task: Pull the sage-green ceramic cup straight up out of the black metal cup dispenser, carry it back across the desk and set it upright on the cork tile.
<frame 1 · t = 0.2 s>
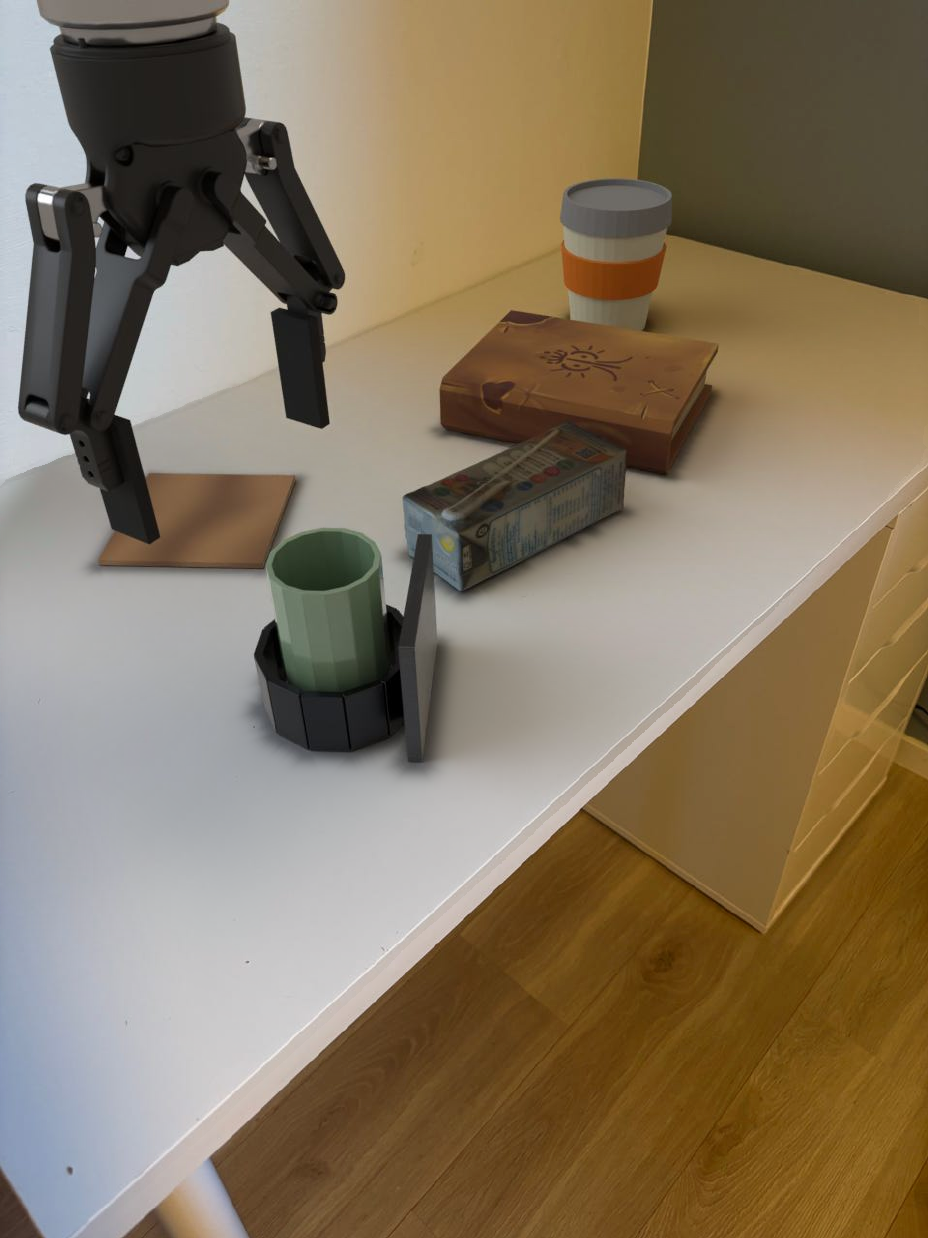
hand: (229, 473, 54), 21 cm above the table, tool pointing down, fingers open, 13 cm apart
reusable coffee cup: (607, 324, 120), on the table
diary: (579, 414, 103), on the table
dispenser: (342, 696, 71), on the table
cork tile: (203, 520, 88), on the table
beverage carton: (517, 534, 86), on the table
cup: (342, 696, 71), resting in dispenser
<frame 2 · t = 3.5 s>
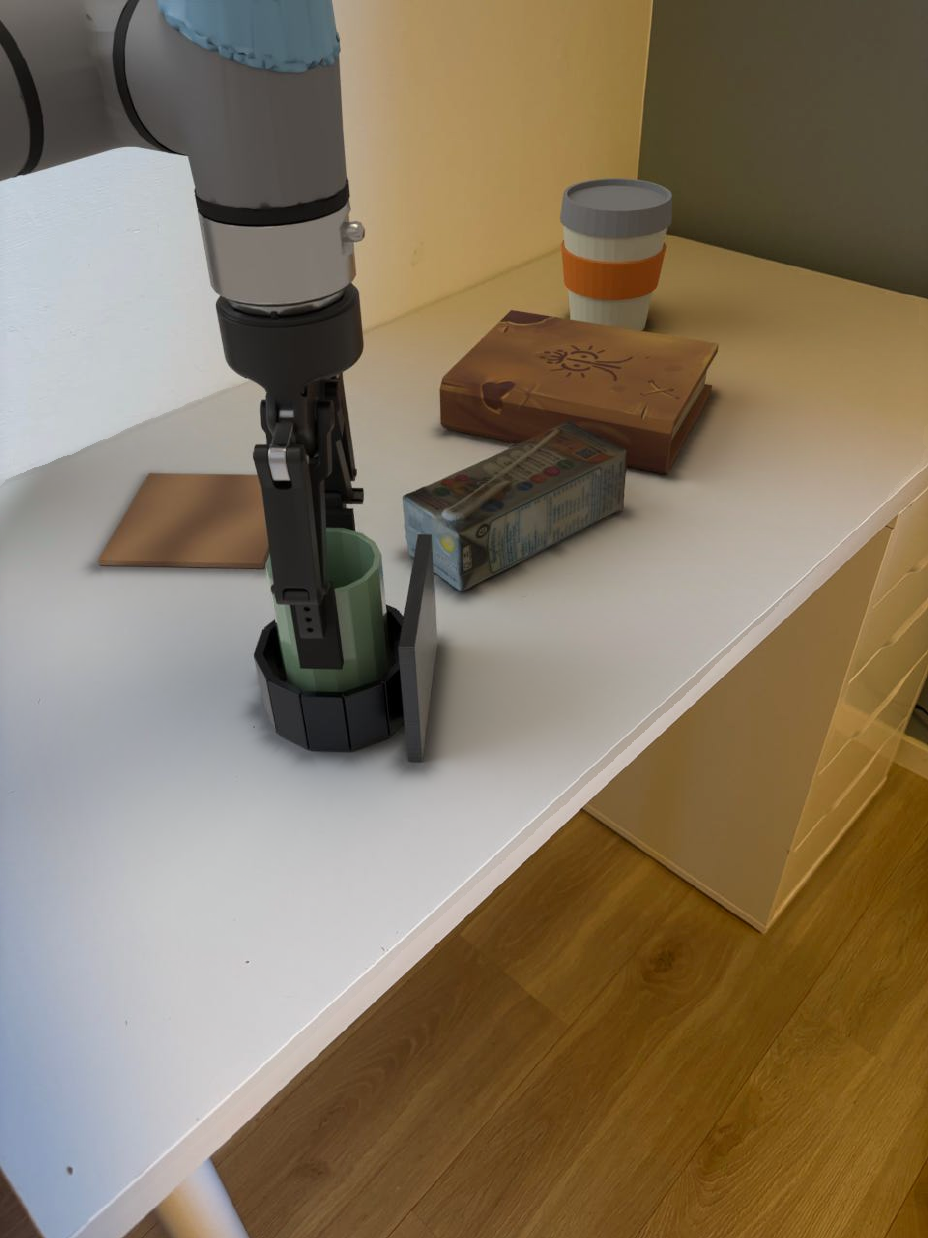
hand: (332, 625, 66), 7 cm above the table, tool pointing down, fingers closed on cup, 7 cm apart
cup: (342, 696, 71), resting in dispenser, touching gripper
everything else where it was.
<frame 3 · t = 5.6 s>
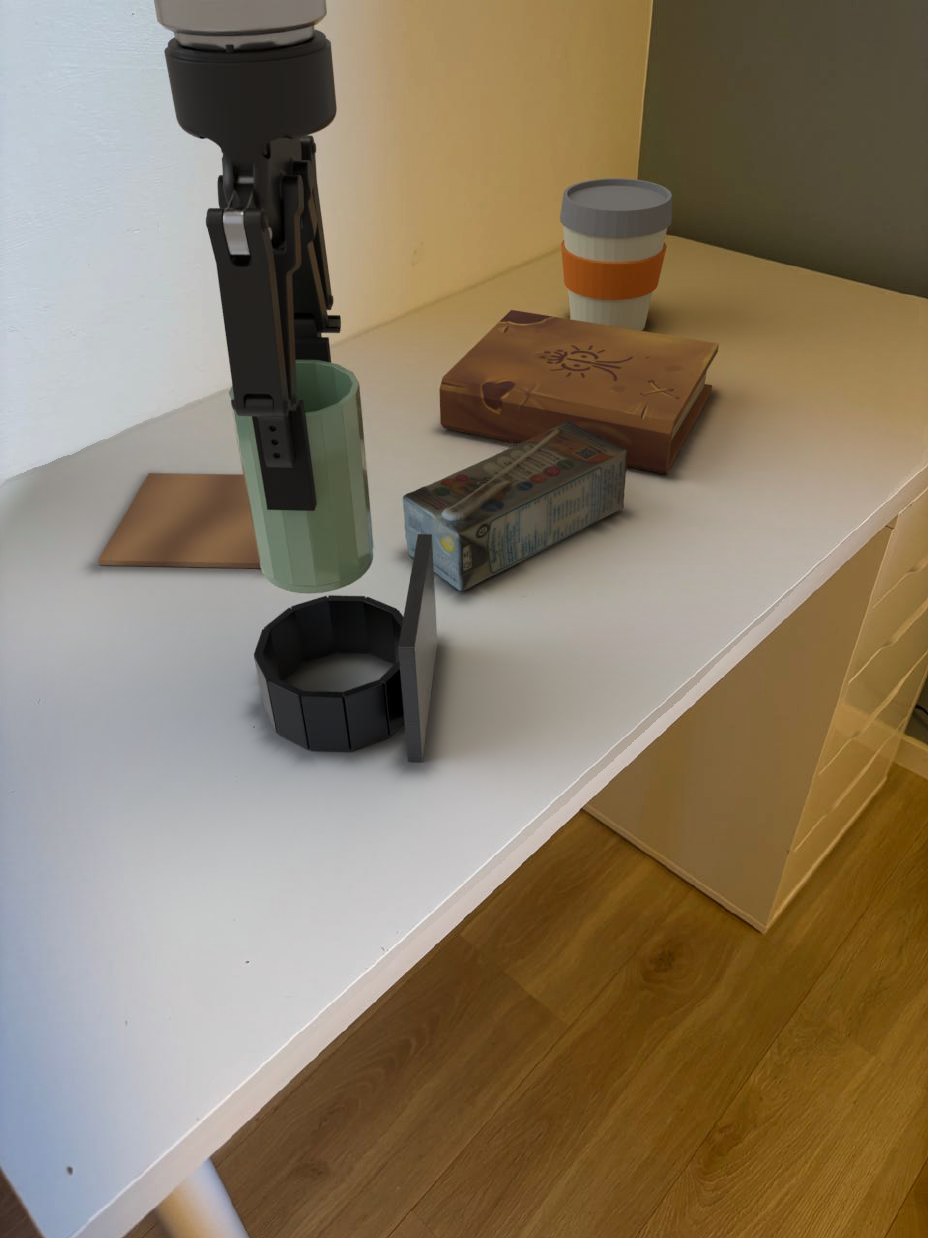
hand: (305, 469, 59), 18 cm above the table, tool pointing down, fingers closed on cup, 7 cm apart
cup: (317, 559, 64), point 12 cm above the table, touching gripper
everything else where it was.
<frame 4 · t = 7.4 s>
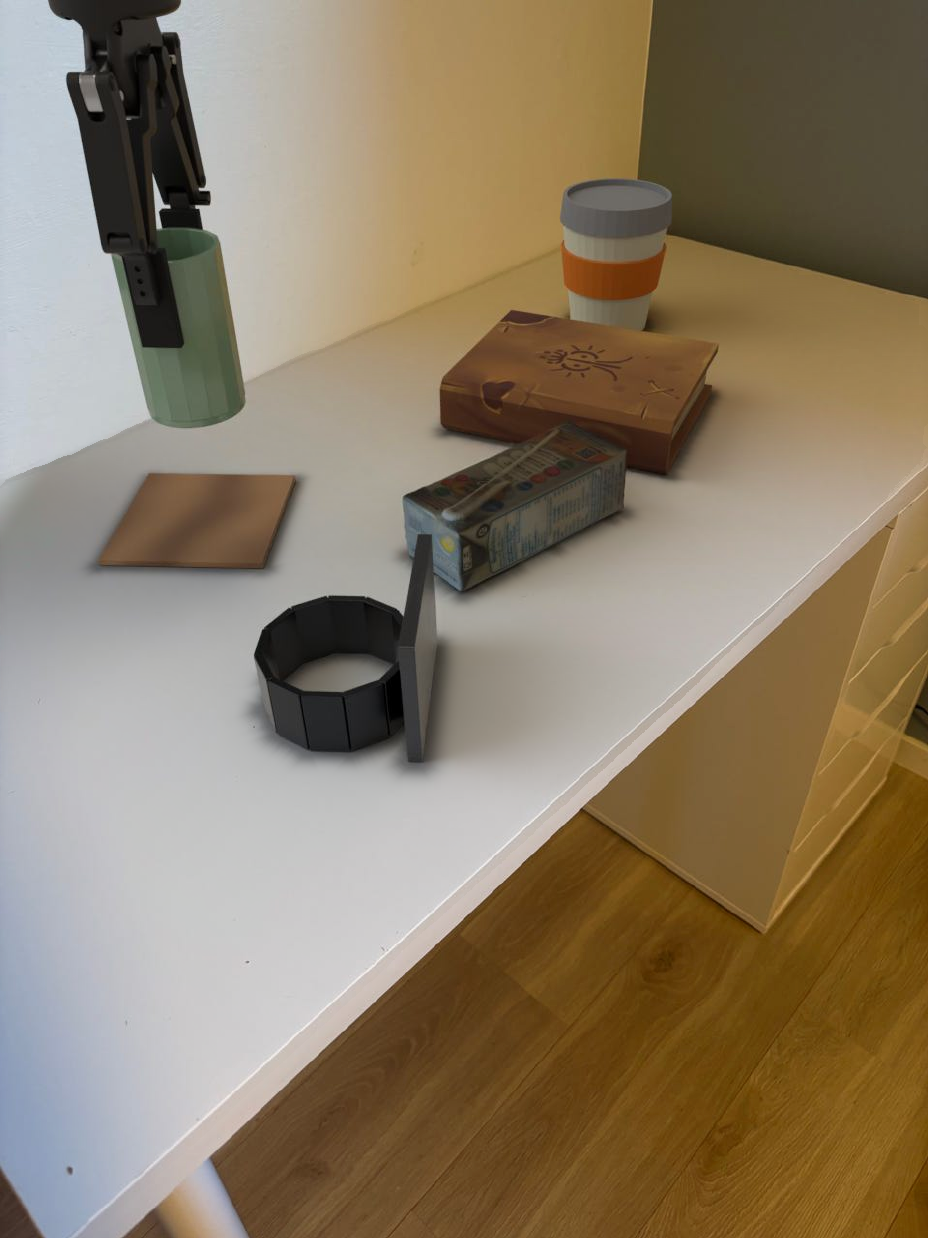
hand: (180, 321, 71), 21 cm above the table, tool pointing down, fingers closed on cup, 7 cm apart
cup: (197, 405, 75), point 14 cm above the table, touching gripper
everything else where it was.
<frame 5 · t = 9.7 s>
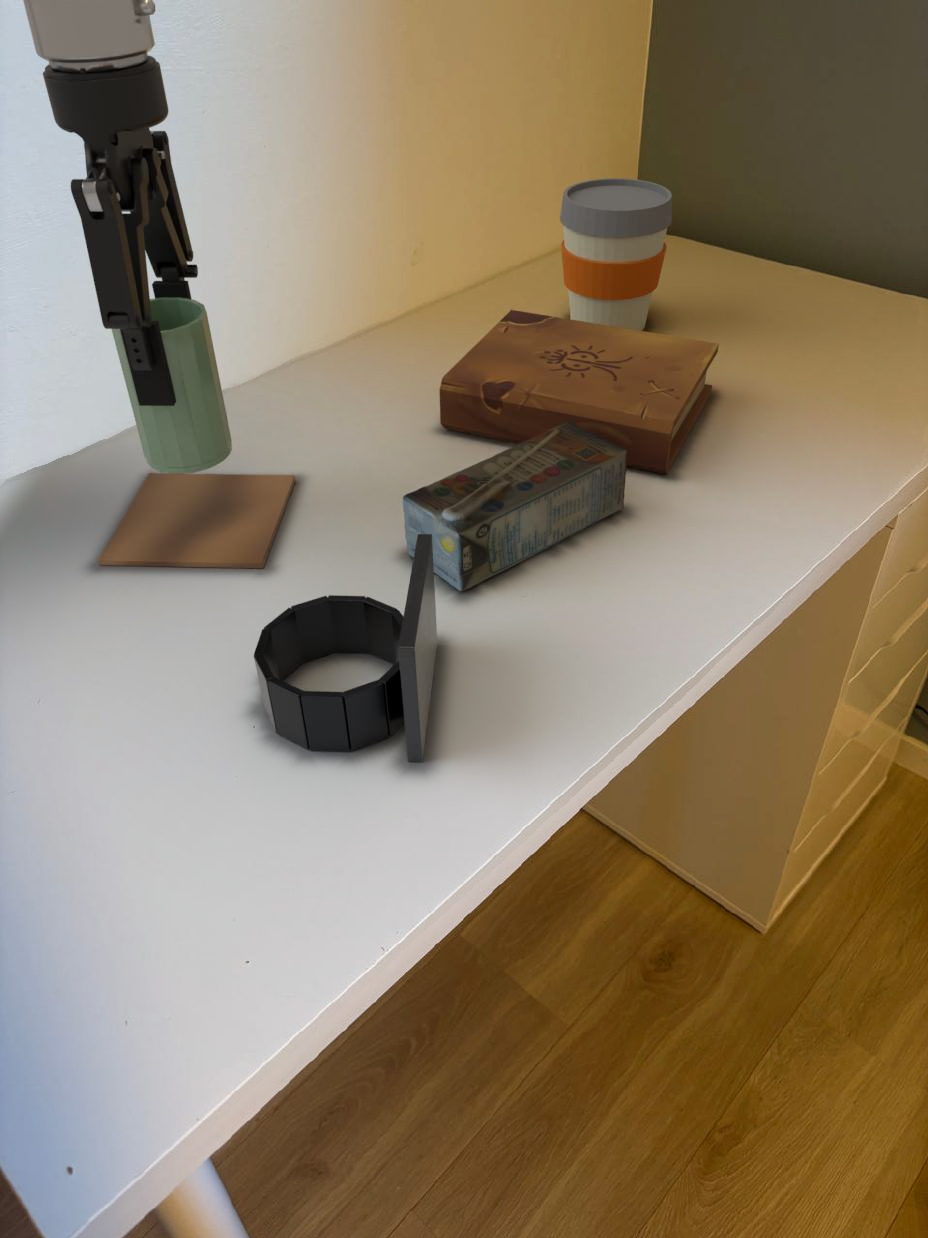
hand: (172, 380, 80), 14 cm above the table, tool pointing down, fingers closed on cup, 7 cm apart
cup: (189, 452, 84), point 7 cm above the table, touching gripper
everything else where it was.
when the fingers open (7 cm above the table, at t = 11.6 s): cup stays where it is, resting on cork tile.
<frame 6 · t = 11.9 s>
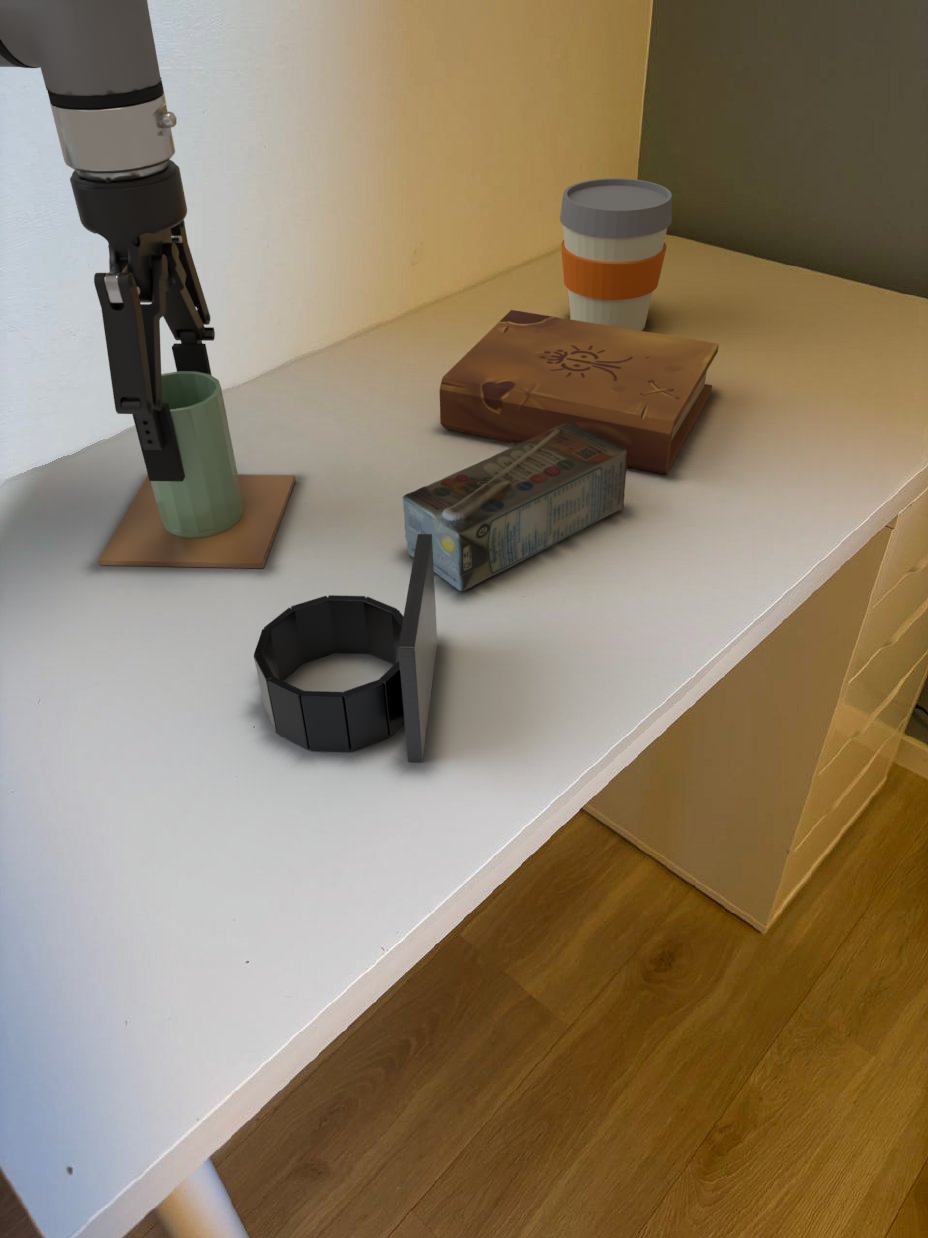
hand: (186, 445, 84), 8 cm above the table, tool pointing down, fingers open, 10 cm apart
cup: (202, 514, 88), point 1 cm above the table, touching cork tile
everything else where it was.
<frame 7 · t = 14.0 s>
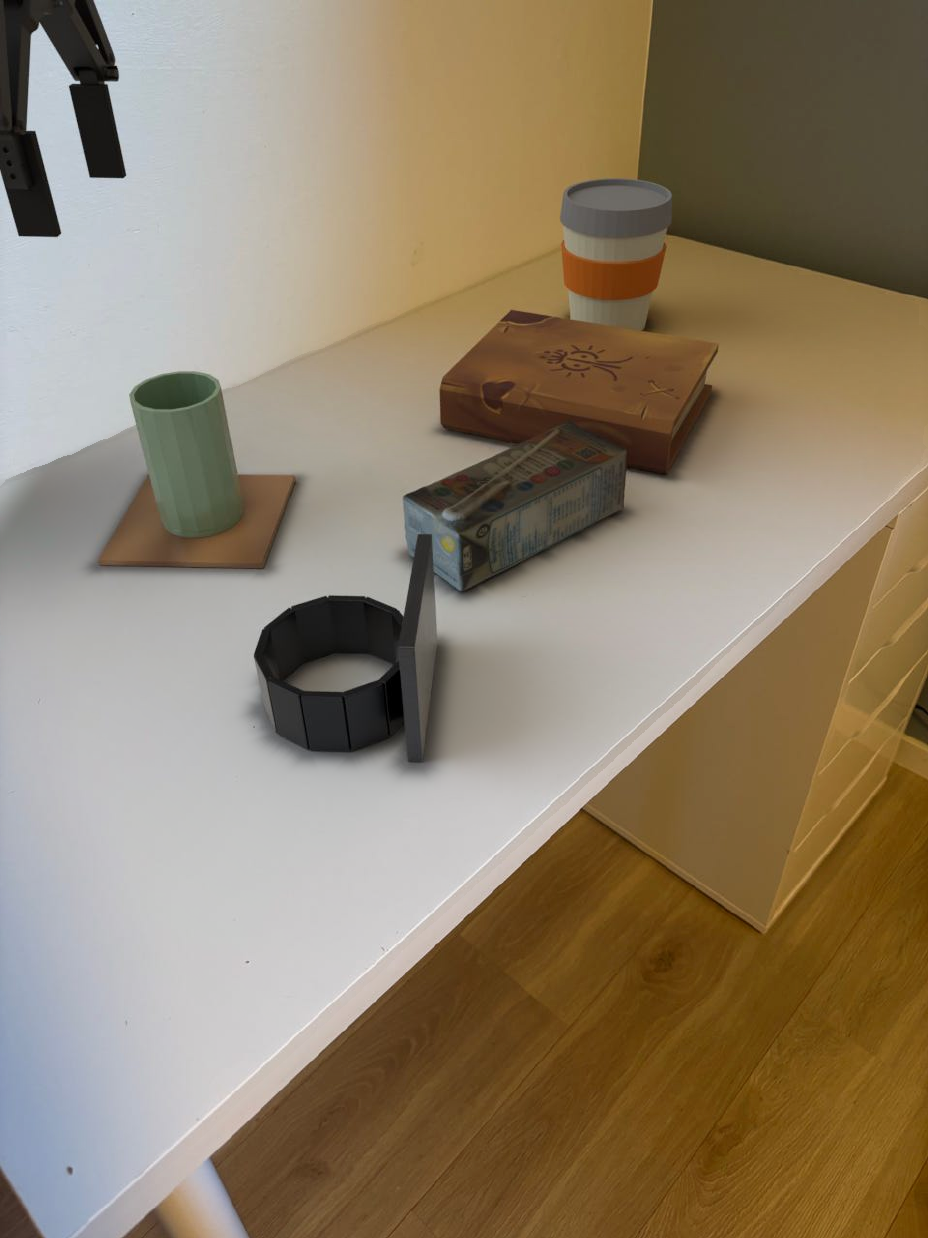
hand: (76, 204, 73), 27 cm above the table, tool pointing down, fingers open, 13 cm apart
nothing on the table moved.
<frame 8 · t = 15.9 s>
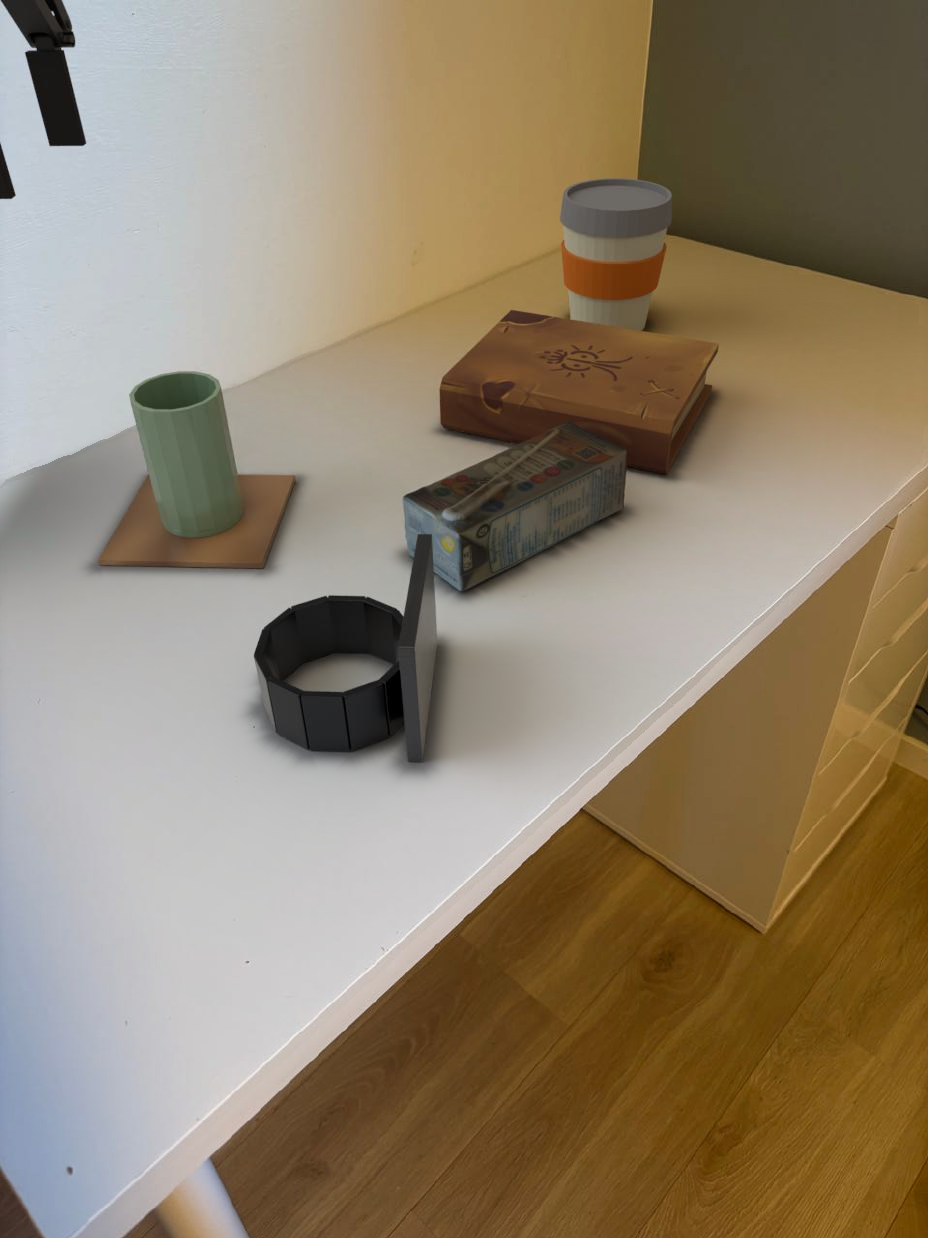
hand: (34, 169, 73), 29 cm above the table, tool pointing down, fingers open, 13 cm apart
nothing on the table moved.
at the end: cup 0.1 cm off-centre on the cork tile, point 0.6 cm above the cork tile's base; cup tilted 0°; cup touching cork tile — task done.
